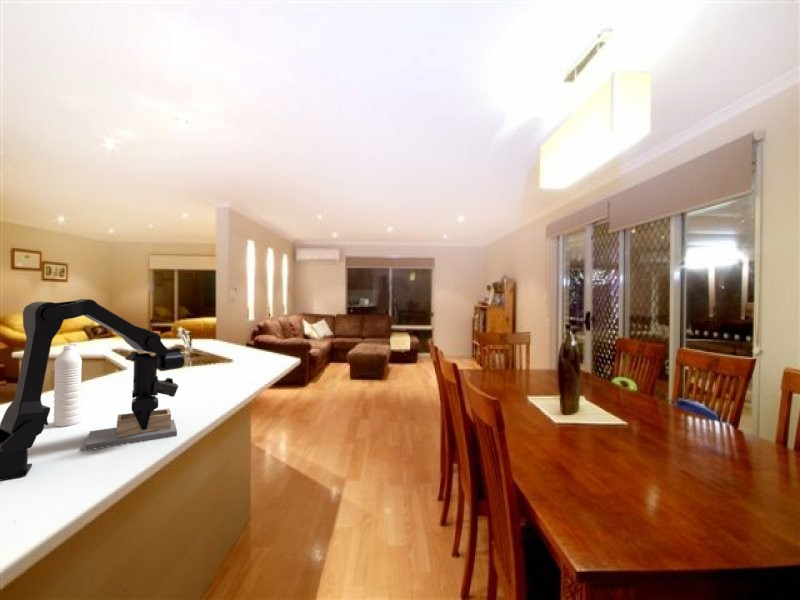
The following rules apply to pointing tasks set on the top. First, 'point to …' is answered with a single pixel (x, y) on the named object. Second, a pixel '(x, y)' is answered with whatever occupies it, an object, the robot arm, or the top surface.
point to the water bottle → (67, 387)
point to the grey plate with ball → (124, 437)
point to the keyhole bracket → (157, 422)
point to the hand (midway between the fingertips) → (144, 426)
